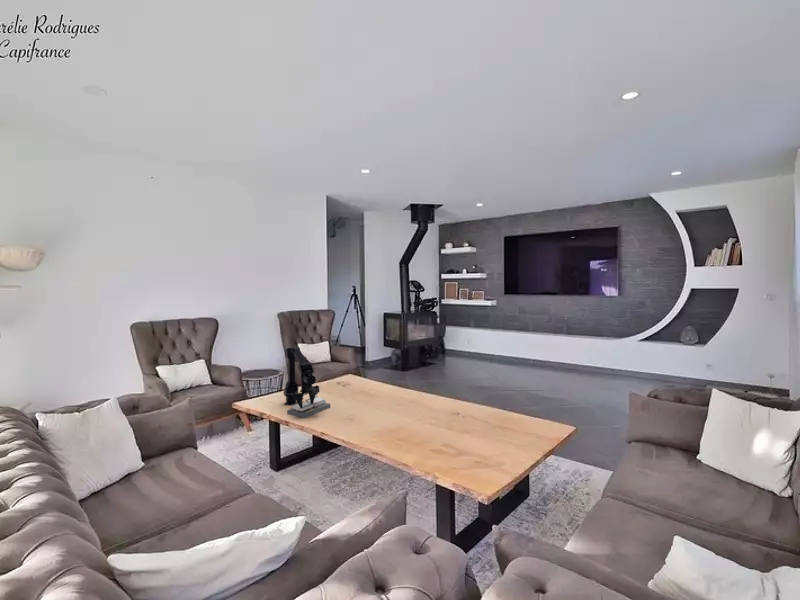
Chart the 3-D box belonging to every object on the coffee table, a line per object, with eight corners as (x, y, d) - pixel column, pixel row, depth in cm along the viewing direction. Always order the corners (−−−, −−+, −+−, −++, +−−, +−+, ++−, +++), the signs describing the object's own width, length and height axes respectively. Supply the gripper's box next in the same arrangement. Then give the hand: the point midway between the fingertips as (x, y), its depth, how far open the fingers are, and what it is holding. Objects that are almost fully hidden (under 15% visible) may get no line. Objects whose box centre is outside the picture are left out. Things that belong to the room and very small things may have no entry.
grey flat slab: (291, 407, 257) (291, 405, 257) (302, 403, 265) (303, 401, 265) (301, 411, 252) (301, 408, 252) (312, 406, 261) (313, 404, 260)
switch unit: (287, 414, 258) (286, 408, 258) (314, 404, 278) (313, 399, 278) (304, 418, 250) (303, 412, 250) (330, 407, 270) (330, 402, 270)
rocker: (305, 401, 267) (305, 399, 267) (315, 398, 275) (316, 395, 275) (314, 406, 262) (315, 404, 262) (325, 402, 271) (325, 400, 271)
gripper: (303, 386, 244) (305, 412, 244) (325, 379, 260) (326, 404, 260) (290, 384, 250) (292, 409, 250) (312, 378, 266) (313, 401, 266)
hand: (306, 406), depth 257 cm, fingers open, 9 cm apart
